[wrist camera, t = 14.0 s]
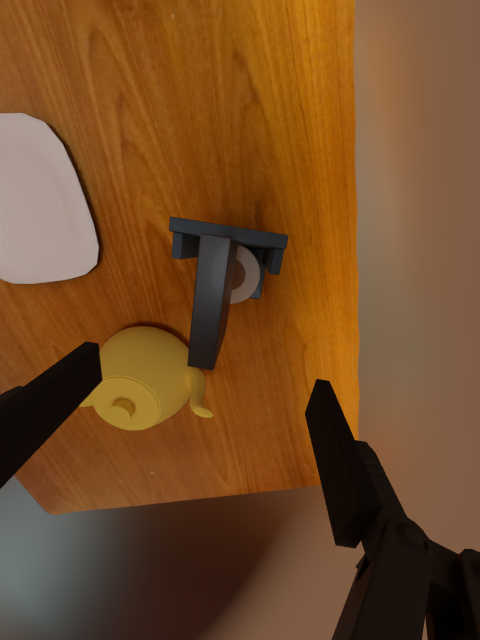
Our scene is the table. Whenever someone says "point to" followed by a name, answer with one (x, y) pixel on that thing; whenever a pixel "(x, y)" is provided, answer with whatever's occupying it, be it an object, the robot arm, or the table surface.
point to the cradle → (219, 277)
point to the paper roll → (244, 275)
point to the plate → (41, 207)
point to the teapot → (146, 379)
